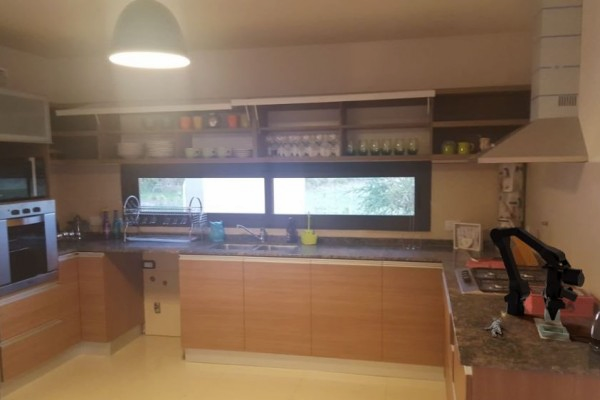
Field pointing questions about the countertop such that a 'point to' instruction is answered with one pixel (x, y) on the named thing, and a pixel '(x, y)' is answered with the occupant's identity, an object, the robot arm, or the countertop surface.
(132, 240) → the countertop surface
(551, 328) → the chassis
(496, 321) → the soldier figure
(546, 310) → the engine block
